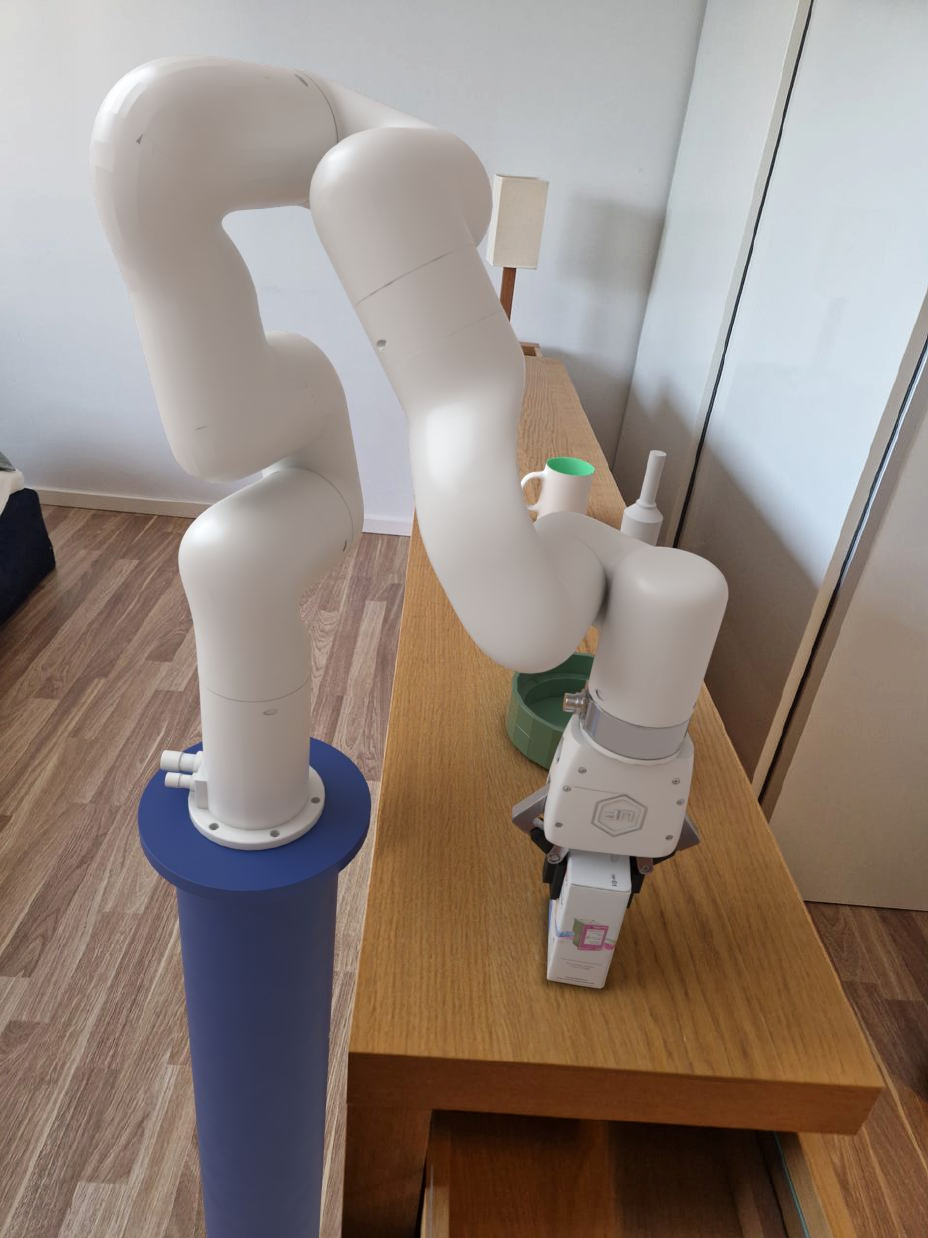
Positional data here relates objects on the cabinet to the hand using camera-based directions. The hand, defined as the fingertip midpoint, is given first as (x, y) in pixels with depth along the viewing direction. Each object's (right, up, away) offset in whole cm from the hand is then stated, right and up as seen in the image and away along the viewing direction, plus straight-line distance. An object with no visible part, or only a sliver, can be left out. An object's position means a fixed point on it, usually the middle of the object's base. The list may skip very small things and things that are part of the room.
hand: (588, 889), depth 72 cm
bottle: (+12, +22, +52) cm, 57 cm away
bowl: (+2, +9, +28) cm, 30 cm away
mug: (+4, +38, +77) cm, 86 cm away
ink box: (-1, -6, +4) cm, 7 cm away
